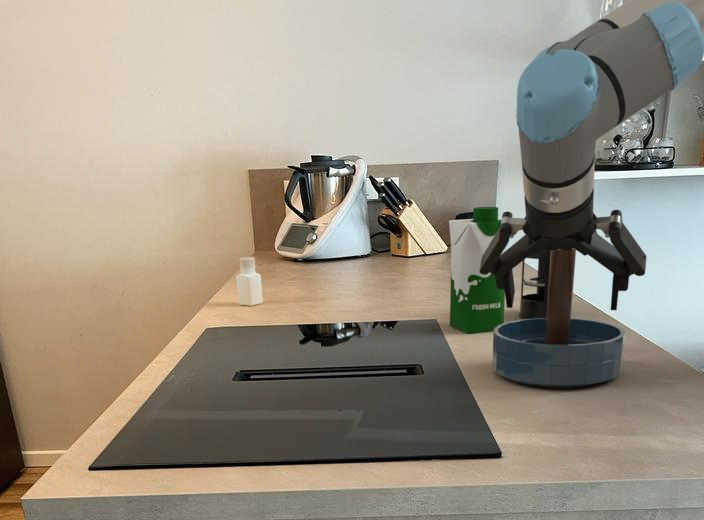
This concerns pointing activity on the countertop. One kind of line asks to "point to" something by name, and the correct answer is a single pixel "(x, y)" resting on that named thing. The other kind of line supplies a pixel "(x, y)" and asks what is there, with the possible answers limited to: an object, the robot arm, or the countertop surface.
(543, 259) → the french press
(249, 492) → the countertop surface
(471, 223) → the milk carton
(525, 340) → the bowl
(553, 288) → the brown wooden cylinder
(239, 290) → the pepper shaker
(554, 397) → the countertop surface
